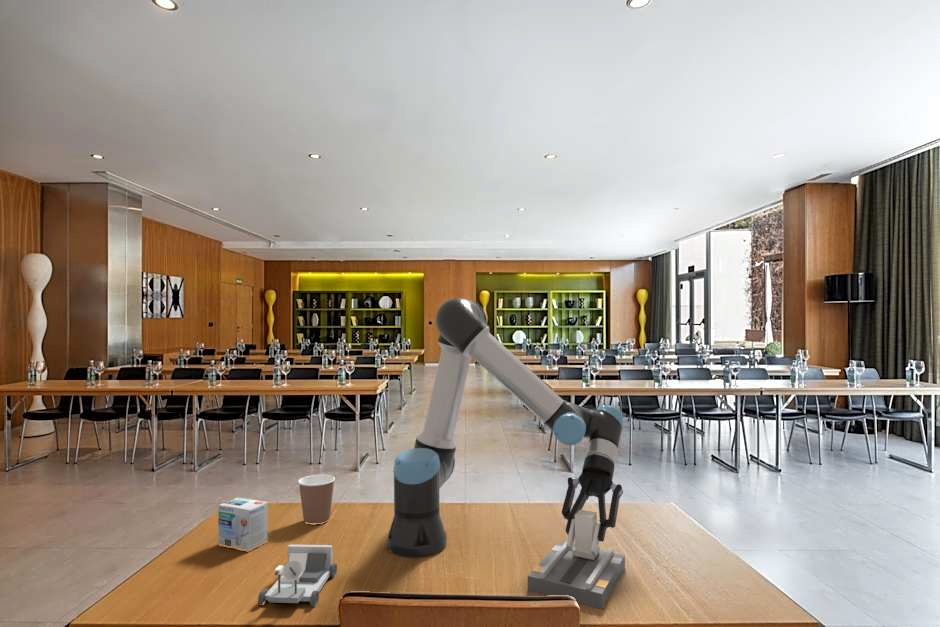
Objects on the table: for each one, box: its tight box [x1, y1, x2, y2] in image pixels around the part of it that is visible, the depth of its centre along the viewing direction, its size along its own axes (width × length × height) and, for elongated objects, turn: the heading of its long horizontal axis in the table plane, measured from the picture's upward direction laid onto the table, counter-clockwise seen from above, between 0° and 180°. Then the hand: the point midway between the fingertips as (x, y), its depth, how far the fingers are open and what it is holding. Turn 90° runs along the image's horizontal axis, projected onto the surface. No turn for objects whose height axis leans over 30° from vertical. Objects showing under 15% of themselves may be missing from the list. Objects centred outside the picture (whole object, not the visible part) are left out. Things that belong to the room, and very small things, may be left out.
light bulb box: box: [217, 497, 269, 550], centre depth 139 cm, size 11×7×11 cm, turn 68°
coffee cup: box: [297, 474, 336, 523], centre depth 155 cm, size 10×10×12 cm
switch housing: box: [527, 540, 626, 610], centre depth 119 cm, size 16×20×4 cm
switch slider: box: [572, 509, 601, 560], centre depth 125 cm, size 5×5×9 cm
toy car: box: [257, 544, 338, 608], centre depth 114 cm, size 18×10×12 cm
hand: (581, 550), depth 121 cm, fingers closed on switch slider, 5 cm apart
